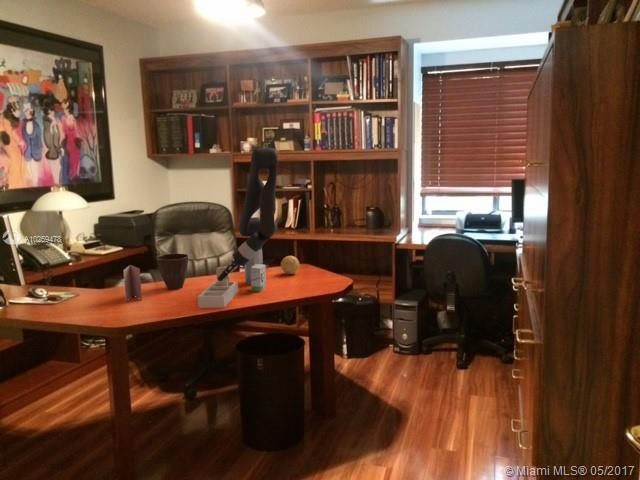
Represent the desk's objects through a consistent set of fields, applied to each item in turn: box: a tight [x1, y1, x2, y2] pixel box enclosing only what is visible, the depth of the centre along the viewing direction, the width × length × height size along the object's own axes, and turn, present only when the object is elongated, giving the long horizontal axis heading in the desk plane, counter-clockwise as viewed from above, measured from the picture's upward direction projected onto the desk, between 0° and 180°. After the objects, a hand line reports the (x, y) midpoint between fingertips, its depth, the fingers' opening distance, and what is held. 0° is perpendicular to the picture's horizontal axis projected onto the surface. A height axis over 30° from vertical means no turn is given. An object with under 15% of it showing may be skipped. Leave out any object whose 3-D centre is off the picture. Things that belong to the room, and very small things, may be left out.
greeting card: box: [122, 264, 143, 302], centre depth 248 cm, size 11×7×15 cm, turn 5°
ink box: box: [250, 264, 267, 293], centre depth 259 cm, size 9×5×12 cm, turn 168°
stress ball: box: [280, 255, 300, 275], centre depth 289 cm, size 10×10×10 cm
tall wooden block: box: [215, 265, 230, 286], centre depth 251 cm, size 4×4×10 cm
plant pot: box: [156, 253, 189, 291], centre depth 266 cm, size 15×15×16 cm
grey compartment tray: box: [197, 281, 239, 309], centre depth 244 cm, size 26×11×5 cm, turn 175°
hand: (220, 278), depth 251 cm, fingers closed on tall wooden block, 4 cm apart
